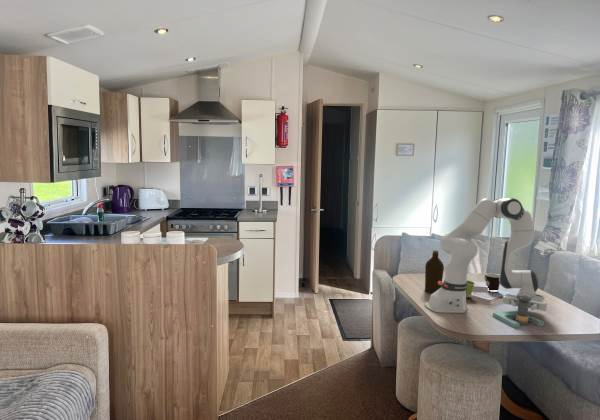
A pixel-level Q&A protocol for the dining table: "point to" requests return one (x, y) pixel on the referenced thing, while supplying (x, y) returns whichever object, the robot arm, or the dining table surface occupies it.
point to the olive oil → (433, 273)
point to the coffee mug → (492, 281)
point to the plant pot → (469, 288)
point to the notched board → (510, 315)
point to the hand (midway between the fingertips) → (523, 306)
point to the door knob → (523, 310)
